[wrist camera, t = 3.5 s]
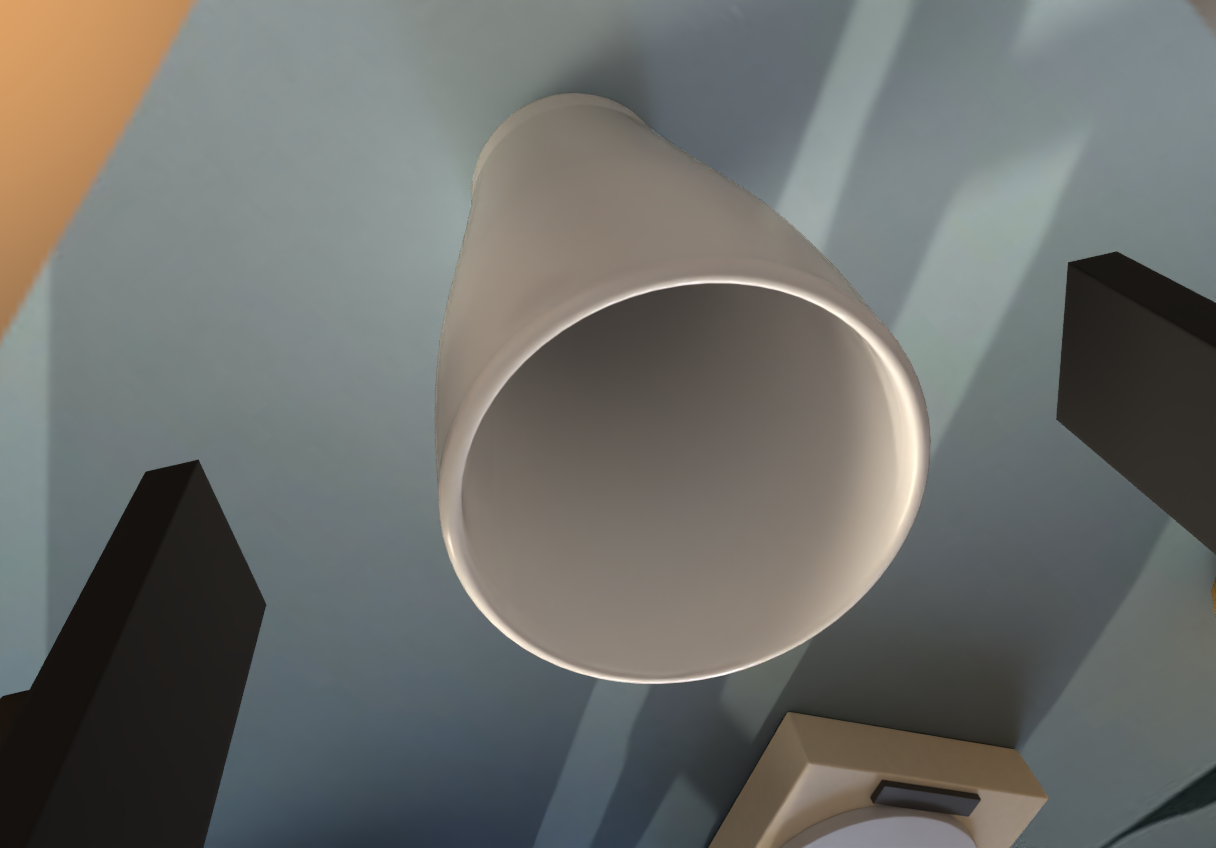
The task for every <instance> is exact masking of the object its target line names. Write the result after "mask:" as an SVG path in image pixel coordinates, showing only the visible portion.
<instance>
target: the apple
mask: <svg viewBox="0 0 1216 848" xmlns="http://www.w3.org/2000/svg"><path fill="white" fill-rule="evenodd" d="M1211 592H1212V598H1213V604H1214V611H1215V617H1216V578H1215V581H1214V584H1213V587H1212V590H1211Z"/></svg>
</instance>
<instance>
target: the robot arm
mask: <svg viewBox="0 0 1216 848" xmlns="http://www.w3.org/2000/svg"><path fill="white" fill-rule="evenodd" d="M1056 420H1058V421H1059V422H1060V423H1061V424H1062V425H1064V426H1065V427H1066V428H1067V429H1068V430H1069V431H1071V432H1072V433H1073V434H1074V435H1075V436H1077V437H1078V438H1079V439H1080V440H1081V441H1082V442H1084V443H1085V444H1086V445H1087V446H1088V447H1090V448H1091V449H1092V450H1093V451H1094V452H1095V453H1097V454H1098V455H1099V456H1100V457H1101V458H1103V459H1104V460H1105V461H1106V462H1107V463H1108V464H1110V465H1111V466H1112V467H1113V468H1114V469H1115V470H1117V471H1118V472H1119V473H1120V474H1121V475H1123V476H1124V477H1125V478H1126V479H1127V480H1128V481H1130V482H1131V483H1132V484H1133V485H1134V486H1136V487H1137V488H1138V489H1139V490H1140V491H1141V492H1143V493H1144V494H1145V495H1146V496H1147V497H1149V498H1150V499H1151V500H1152V501H1153V502H1154V503H1156V504H1157V505H1158V506H1159V507H1160V508H1162V509H1163V510H1164V511H1165V512H1166V513H1167V514H1169V515H1170V516H1171V517H1172V518H1173V519H1174V520H1176V521H1177V522H1178V523H1179V524H1180V525H1182V526H1183V527H1184V528H1185V529H1186V530H1187V531H1189V532H1190V533H1191V534H1192V535H1193V536H1195V537H1196V538H1197V539H1198V540H1199V541H1200V542H1202V543H1203V544H1204V545H1205V546H1206V547H1208V548H1209V549H1210V550H1211V551H1212V552H1213V553H1215V554H1216V303H1215V302H1213V301H1211V300H1209V299H1207V298H1205V297H1203V296H1201V295H1199V294H1197V293H1196V292H1194V291H1192V290H1190V289H1188V288H1186V287H1184V286H1182V285H1180V284H1178V283H1176V282H1174V281H1172V280H1171V279H1169V278H1167V277H1165V276H1163V275H1161V274H1159V273H1157V272H1155V271H1153V270H1151V269H1149V268H1147V267H1146V266H1144V265H1142V264H1140V263H1138V262H1136V261H1134V260H1132V259H1130V258H1128V257H1126V256H1124V255H1122V254H1121V253H1119V252H1112V253H1108V254H1104V255H1099V256H1095V257H1090V258H1086V259H1082V260H1077V261H1073V262H1068V271H1067V284H1066V297H1065V311H1064V324H1063V338H1062V351H1061V364H1060V378H1059V391H1058V404H1057V418H1056ZM265 607H266V603H265V601H264V598H263V596H262V594H261V592H260V590H259V588H258V586H257V583H256V581H255V579H254V577H253V575H252V573H251V571H250V569H249V566H248V564H247V562H246V560H245V558H244V556H243V554H242V551H241V549H240V547H239V545H238V543H237V541H236V539H235V537H234V534H233V532H232V530H231V528H230V526H229V524H228V522H227V519H226V517H225V515H224V513H223V511H222V509H221V507H220V505H219V502H218V500H217V498H216V496H215V494H214V492H213V490H212V488H211V485H210V483H209V481H208V479H207V477H206V475H205V473H204V470H203V468H202V466H201V464H200V462H199V460H195V461H191V462H186V463H182V464H177V465H173V466H169V467H164V468H160V469H155V470H151V471H147V472H145V474H144V476H143V477H142V479H141V481H140V483H139V485H138V487H137V489H136V491H135V492H134V494H133V496H132V498H131V500H130V502H129V504H128V506H127V508H126V509H125V511H124V513H123V515H122V517H121V519H120V521H119V523H118V524H117V526H116V528H115V530H114V532H113V534H112V536H111V538H110V540H109V541H108V543H107V545H106V547H105V549H104V551H103V553H102V555H101V556H100V558H99V560H98V562H97V564H96V566H95V568H94V570H93V572H92V573H91V575H90V577H89V579H88V581H87V583H86V585H85V587H84V588H83V590H82V592H81V594H80V596H79V598H78V600H77V602H76V604H75V605H74V607H73V609H72V611H71V613H70V615H69V617H68V619H67V620H66V622H65V624H64V626H63V628H62V630H61V632H60V634H59V635H58V637H57V639H56V641H55V643H54V645H53V647H52V649H51V651H50V652H49V654H48V656H47V658H46V660H45V662H44V664H43V666H42V667H41V669H40V671H39V673H38V675H37V677H36V679H35V681H34V683H33V684H32V686H31V688H30V690H27V691H23V692H18V693H14V694H10V695H6V696H2V698H1V699H0V848H203V847H204V843H205V839H206V835H207V832H208V828H209V824H210V820H211V816H212V812H213V808H214V804H215V801H216V797H217V793H218V789H219V785H220V781H221V777H222V774H223V770H224V766H225V762H226V758H227V754H228V750H229V746H230V743H231V739H232V735H233V731H234V727H235V723H236V719H237V716H238V712H239V708H240V704H241V700H242V696H243V692H244V688H245V685H246V681H247V677H248V673H249V669H250V665H251V661H252V658H253V654H254V650H255V646H256V642H257V638H258V634H259V630H260V627H261V623H262V619H263V615H264V611H265Z"/></svg>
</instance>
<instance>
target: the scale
mask: <svg viewBox="0 0 1216 848" xmlns="http://www.w3.org/2000/svg"><path fill="white" fill-rule="evenodd" d="M1047 800H1048V796H1047V794H1046V793H1045V791H1044V790H1043V788H1042V787H1041V785H1040V784H1039V782H1038V781H1037V779H1036V778H1035V776H1034V775H1033V773H1032V772H1031V770H1030V769H1029V767H1028V766H1027V764H1026V763H1025V761H1024V760H1023V758H1022V757H1021V755H1020V754H1019V752H1018V751H1017V750H1015V749H1009V748H1003V747H997V746H991V745H985V744H979V743H973V742H967V741H961V740H955V739H949V738H943V737H937V736H931V735H925V734H919V733H913V732H907V731H901V730H895V729H889V728H883V727H877V726H871V725H865V724H859V723H853V722H847V721H841V720H835V719H829V718H823V717H817V716H811V715H805V714H799V713H793V712H788V713H787V714H786V716H785V717H784V719H783V721H782V722H781V724H780V726H779V728H778V729H777V731H776V733H775V734H774V736H773V738H772V740H771V741H770V743H769V745H768V746H767V748H766V750H765V752H764V753H763V755H762V757H761V758H760V760H759V762H758V764H757V765H756V767H755V769H754V770H753V772H752V774H751V776H750V777H749V779H748V781H747V782H746V784H745V786H744V788H743V789H742V791H741V793H740V794H739V796H738V798H737V800H736V801H735V803H734V805H733V806H732V808H731V810H730V811H729V813H728V815H727V817H726V818H725V820H724V822H723V823H722V825H721V827H720V829H719V830H718V832H717V834H716V835H715V837H714V839H713V841H712V842H711V844H710V846H709V847H708V848H1010V847H1011V846H1012V845H1013V843H1014V842H1015V841H1016V839H1017V838H1018V837H1019V836H1020V834H1021V833H1022V832H1023V831H1024V829H1025V828H1026V827H1027V825H1028V824H1029V823H1030V822H1031V820H1032V819H1033V818H1034V817H1035V815H1036V814H1037V813H1038V812H1039V810H1040V809H1041V808H1042V806H1043V805H1044V804H1045V803H1046V801H1047Z"/></svg>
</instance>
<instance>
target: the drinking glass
mask: <svg viewBox="0 0 1216 848" xmlns="http://www.w3.org/2000/svg"><path fill="white" fill-rule="evenodd" d="M434 415H435V451H436V470H437V483H438V501H439V516H440V523H441V529H442V535H443V539H444V542H445V546H446V549H447V553H448V556H449V558H450V560H451V563H452V565H453V568H454V570H455V573H456V575H457V576H458V578H459V580H460V582H461V584H462V585H463V587H464V589H465V591H466V592H467V594H468V595H469V596H470V598H471V599H472V600H473V602H474V603H475V605H476V606H477V607H478V609H479V610H480V611H481V612H482V613H483V614H484V615H485V616H486V617H487V619H488V620H489V621H490V622H491V623H492V624H493V625H494V626H496V627H497V628H498V629H499V630H500V631H501V632H502V633H503V634H505V635H506V636H507V637H508V638H510V639H511V640H513V641H514V642H515V643H517V644H518V645H520V646H521V647H522V648H524V649H526V650H528V651H529V652H531V653H533V654H534V655H536V656H538V657H540V658H542V659H544V660H546V661H548V662H550V663H553V664H555V665H557V666H559V667H562V668H565V669H568V670H571V671H573V672H576V673H580V674H584V675H587V676H591V677H595V678H600V679H605V680H611V681H617V682H627V683H638V684H666V683H682V682H689V681H697V680H703V679H708V678H713V677H718V676H723V675H726V674H730V673H733V672H737V671H740V670H744V669H746V668H749V667H752V666H755V665H758V664H760V663H763V662H765V661H768V660H770V659H772V658H775V657H777V656H779V655H781V654H783V653H785V652H787V651H789V650H791V649H793V648H795V647H797V646H799V645H800V644H802V643H804V642H805V641H807V640H809V639H810V638H812V637H813V636H815V635H817V634H818V633H820V632H821V631H823V630H824V629H825V628H827V627H828V626H829V625H831V624H832V623H834V622H835V621H836V620H838V619H839V618H840V617H841V616H842V615H843V614H845V613H846V612H847V611H848V610H849V609H851V608H852V607H853V606H854V605H855V604H856V603H857V602H858V601H859V600H860V599H861V598H862V597H863V596H864V595H865V594H866V593H867V592H868V591H869V590H870V589H871V588H872V586H873V585H874V584H875V583H876V582H877V581H878V579H879V578H880V577H881V576H882V575H883V573H884V572H885V570H886V569H887V568H888V566H889V565H890V564H891V562H892V561H893V559H894V558H895V556H896V555H897V553H898V551H899V550H900V548H901V546H902V545H903V543H904V541H905V540H906V537H907V535H908V533H909V531H910V529H911V527H912V525H913V523H914V521H915V518H916V515H917V513H918V510H919V507H920V505H921V502H922V498H923V494H924V490H925V486H926V483H927V476H928V470H929V463H930V443H931V440H930V426H929V418H928V412H927V407H926V402H925V398H924V395H923V392H922V389H921V385H920V382H919V379H918V377H917V375H916V373H915V371H914V369H913V366H912V364H911V362H910V360H909V358H908V357H907V355H906V353H905V352H904V350H903V349H902V347H901V345H900V344H899V342H898V341H897V339H896V338H895V337H894V336H893V334H892V333H891V332H890V331H889V329H888V328H887V327H886V326H885V325H884V323H883V322H882V321H881V320H880V319H879V318H878V317H877V316H876V315H875V314H874V312H873V311H872V310H871V309H870V307H869V306H868V305H867V304H866V303H865V301H864V300H863V299H862V298H861V296H860V295H859V294H858V293H857V291H856V290H855V289H854V288H853V287H852V285H851V284H850V283H849V282H848V281H847V280H846V279H845V277H844V276H843V275H842V274H841V273H840V272H839V271H838V270H837V269H836V267H835V266H834V265H833V264H832V263H831V262H830V261H829V260H828V259H827V258H826V257H825V256H824V255H823V254H822V253H821V252H820V251H819V250H818V249H817V248H816V247H815V246H814V245H813V244H812V243H811V242H810V241H809V240H808V239H807V238H806V237H805V236H804V235H803V234H802V233H800V232H799V231H798V230H797V229H796V228H795V227H794V226H793V225H792V224H791V223H789V222H788V221H787V220H786V219H785V218H783V217H782V216H781V215H780V214H779V213H777V212H776V211H775V210H773V209H772V208H771V207H770V206H768V205H767V204H766V203H764V202H763V201H762V200H760V199H759V198H758V197H756V196H755V195H754V194H752V193H751V192H749V191H748V190H746V189H745V188H743V187H742V186H740V185H739V184H737V183H736V182H734V181H732V180H731V179H729V178H728V177H726V176H724V175H723V174H721V173H719V172H718V171H716V170H715V169H713V168H711V167H710V166H708V165H706V164H705V163H703V162H702V161H700V160H698V159H697V158H695V157H693V156H692V155H690V154H689V153H687V152H685V151H684V150H682V149H681V148H679V147H677V146H676V145H674V144H673V143H671V142H670V141H668V140H666V139H665V138H663V137H662V136H660V135H659V134H657V133H656V132H654V131H653V130H652V129H651V128H650V127H649V125H648V124H646V123H645V122H644V121H643V120H642V119H641V118H640V117H639V116H638V115H636V114H635V113H634V112H632V111H631V110H629V109H628V108H626V107H624V106H623V105H621V104H619V103H617V102H615V101H612V100H610V99H607V98H604V97H600V96H596V95H591V94H584V93H565V94H557V95H552V96H548V97H544V98H541V99H539V100H536V101H533V102H531V103H529V104H527V105H525V106H523V107H522V108H520V109H519V110H517V111H516V112H514V113H513V114H512V115H510V116H509V117H508V118H507V119H506V120H504V121H503V122H502V123H501V124H500V125H499V126H498V128H497V129H496V130H495V131H494V132H493V134H492V135H491V136H490V138H489V139H488V141H487V142H486V144H485V146H484V148H483V150H482V151H481V154H480V156H479V158H478V161H477V164H476V167H475V170H474V174H473V180H472V187H471V208H470V213H469V217H468V221H467V225H466V229H465V233H464V237H463V241H462V245H461V249H460V253H459V257H458V261H457V265H456V268H455V272H454V276H453V280H452V284H451V288H450V292H449V296H448V300H447V305H446V309H445V314H444V319H443V324H442V330H441V336H440V342H439V349H438V358H437V371H436V384H435V409H434Z"/></svg>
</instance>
